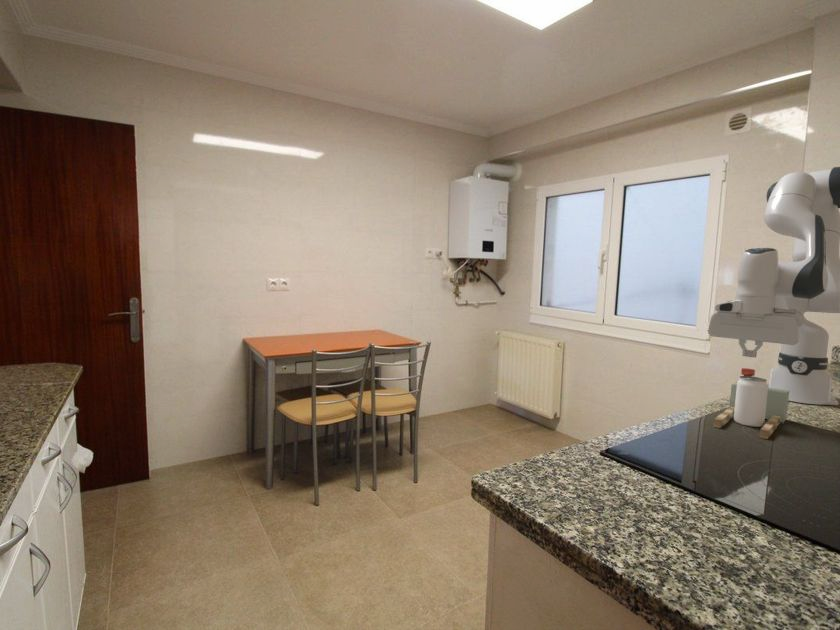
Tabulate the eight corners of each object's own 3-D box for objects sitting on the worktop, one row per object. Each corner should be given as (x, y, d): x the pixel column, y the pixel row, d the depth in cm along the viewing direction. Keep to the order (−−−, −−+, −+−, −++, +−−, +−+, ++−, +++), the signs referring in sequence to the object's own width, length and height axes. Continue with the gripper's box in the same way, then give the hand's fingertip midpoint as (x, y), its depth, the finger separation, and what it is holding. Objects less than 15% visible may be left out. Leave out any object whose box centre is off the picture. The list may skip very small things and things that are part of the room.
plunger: (740, 393, 127) (743, 367, 126) (753, 396, 124) (756, 369, 124) (737, 395, 125) (740, 369, 124) (751, 397, 122) (753, 371, 122)
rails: (729, 413, 124) (730, 406, 124) (779, 424, 116) (780, 416, 116) (713, 426, 112) (713, 418, 112) (767, 439, 104) (768, 431, 104)
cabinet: (733, 408, 129) (735, 381, 128) (786, 419, 120) (789, 390, 119) (729, 412, 125) (731, 384, 125) (783, 423, 117) (786, 393, 116)
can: (753, 420, 119) (758, 376, 118) (770, 428, 112) (775, 381, 111) (728, 418, 119) (732, 374, 118) (743, 426, 113) (747, 380, 112)
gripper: (805, 309, 117) (799, 361, 118) (714, 304, 132) (710, 350, 133) (802, 310, 113) (796, 364, 114) (708, 304, 127) (704, 352, 129)
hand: (749, 356), depth 123 cm, fingers closed
